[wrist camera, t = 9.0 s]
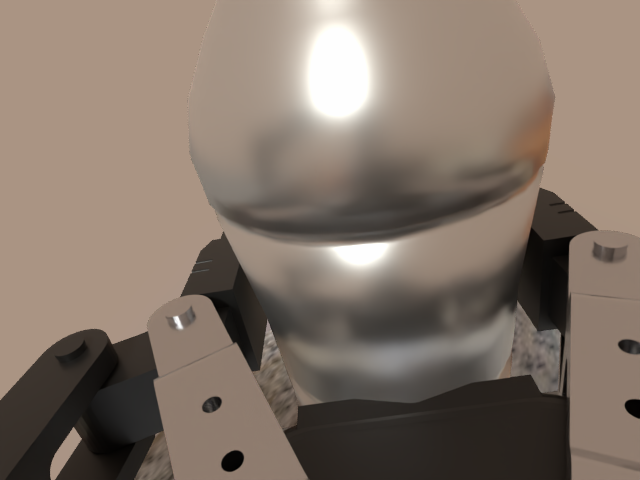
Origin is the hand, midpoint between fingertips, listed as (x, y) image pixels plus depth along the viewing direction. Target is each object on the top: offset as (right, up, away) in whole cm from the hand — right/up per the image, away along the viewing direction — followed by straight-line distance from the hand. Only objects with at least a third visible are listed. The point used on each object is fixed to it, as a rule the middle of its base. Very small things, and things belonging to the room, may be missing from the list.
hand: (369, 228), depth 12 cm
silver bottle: (+2, -11, +3) cm, 11 cm away
